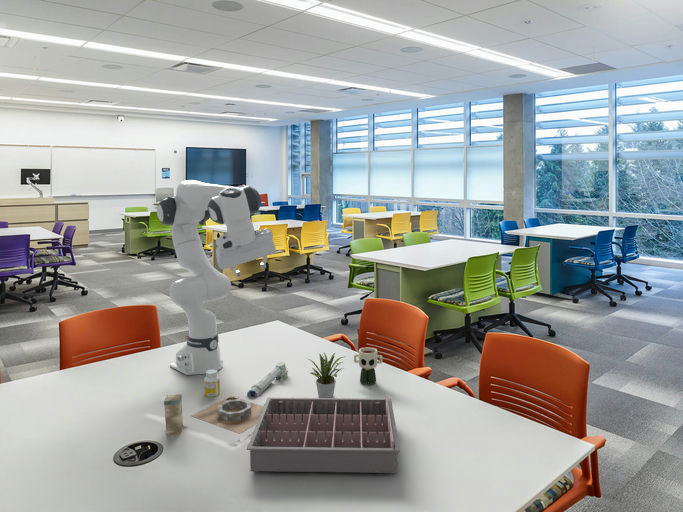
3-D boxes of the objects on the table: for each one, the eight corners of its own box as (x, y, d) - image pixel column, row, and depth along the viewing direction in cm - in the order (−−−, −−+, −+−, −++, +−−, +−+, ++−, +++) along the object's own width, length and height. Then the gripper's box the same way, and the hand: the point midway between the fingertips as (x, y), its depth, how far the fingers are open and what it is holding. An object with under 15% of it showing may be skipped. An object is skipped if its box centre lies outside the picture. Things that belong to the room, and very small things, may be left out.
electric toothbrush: (244, 389, 180) (277, 357, 202) (246, 405, 181) (279, 372, 204) (257, 391, 178) (289, 358, 200) (259, 407, 180) (290, 373, 202)
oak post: (166, 435, 155) (163, 401, 153) (168, 428, 159) (166, 395, 157) (181, 434, 155) (179, 400, 154) (183, 427, 160) (181, 394, 158)
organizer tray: (268, 420, 164) (267, 391, 163) (390, 421, 163) (391, 392, 162) (247, 477, 133) (246, 442, 131) (399, 479, 132) (400, 443, 130)
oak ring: (220, 403, 174) (220, 400, 174) (231, 397, 178) (231, 395, 178) (231, 406, 171) (231, 404, 171) (242, 401, 175) (242, 398, 175)
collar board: (190, 419, 165) (190, 408, 164) (230, 399, 180) (230, 389, 179) (240, 437, 153) (239, 426, 153) (278, 414, 168) (278, 403, 168)
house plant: (357, 397, 181) (357, 353, 179) (330, 410, 171) (329, 364, 169) (328, 386, 191) (328, 344, 188) (301, 397, 181) (300, 354, 178)
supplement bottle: (210, 401, 178) (209, 375, 177) (201, 397, 182) (200, 371, 180) (223, 396, 182) (222, 371, 181) (214, 392, 186) (213, 367, 184)
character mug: (353, 385, 191) (353, 353, 189) (354, 378, 198) (354, 346, 196) (381, 387, 190) (382, 354, 188) (382, 379, 197) (382, 347, 195)
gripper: (268, 224, 176) (276, 259, 182) (210, 241, 170) (220, 277, 175) (273, 229, 171) (281, 265, 177) (214, 247, 164) (225, 284, 170)
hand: (251, 271), depth 176 cm, fingers open, 8 cm apart
